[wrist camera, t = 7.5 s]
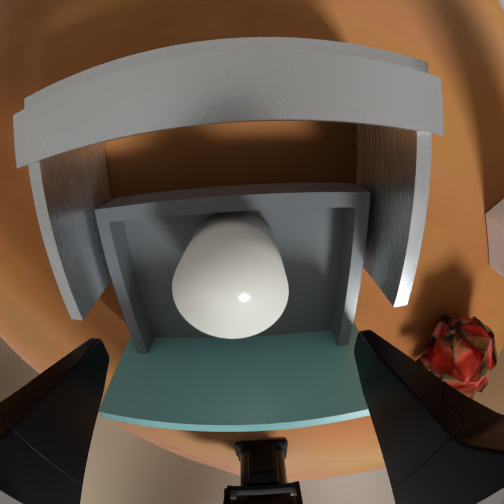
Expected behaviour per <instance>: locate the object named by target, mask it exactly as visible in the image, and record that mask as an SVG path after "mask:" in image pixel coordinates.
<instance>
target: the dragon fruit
mask: <svg viewBox="0 0 504 504" xmlns="http://www.w3.org/2000/svg"><path fill="white" fill-rule="evenodd" d="M444 316H445V318H446V321H445V322H444V321H441V322H438V324H437V326H436V327H435V330H433V331H432V334H431V336H430V337H431V340H432V341H433V337H434V339H435V338H436V343H435V346H429V347H427V348H426V349H425V351H424V354H422V356H421V357H419V358H418V359H417V360H416V362H417V363H419V364H420V365H422V366H423V367H424V368H426V369H430V370H431V371H430V372H432V373H433V374H435V375H436V376H437V377H439V378H440V379H442V381H445V382H446V383H448V384H449V385H450V386H452V387H453V388H455V389H456V390H458V391H459V392H461V393H463V394H464V395H466V396H468V397H469V398H471V399H472V398H473V396H474V395H475V393H476V391H477V392H482V391H483V390H484V389H485V388H486V387H487V386H488V380H487V374H488V373H489V372H491V370H492V369H493V368H494V367H495V366H496V363H497V351H496V347H495V339H494V334H493V332H492V330H491V329H490V328H489V327H488V326H486V325H484V324H483V323H482V322H481V321H480V320H479V319H477V318H476V317H472V318H473V319H471V318H462V317H458V319H456V317H455V316H452V315H449V314H446V315H444ZM478 320H479V321H478Z"/></svg>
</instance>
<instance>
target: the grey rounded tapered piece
mask: <svg viewBox="0 0 504 504" xmlns="http://www.w3.org/2000/svg"><path fill="white" fill-rule="evenodd" d="M172 293H173V298H174V302H175V304H176V306H177V309H178V310H179V312H180V313H181V315H182V316H183V317H184V318H185V320H187V321H188V322H189V323H190V324H191V325H192V326H194V327H195V328H196V329H198V330H200V331H202V332H204V333H206V334H209V335H212V336H215V337H219V338H227V339H237V338H245V337H249V336H253V335H256V334H258V333H260V332H262V331H264V330H266V329H267V328H269V327H270V326H271V325H273V324H274V323H275V322H276V321H277V320H278V318H279V317H280V316H281V314H282V313H283V311H284V309H285V307H286V304H287V301H288V295H289V287H288V281H287V277H286V273H285V270H284V266H283V262H282V259H281V255H280V251H279V248H278V244H277V241H276V238H275V235H274V233H273V232H272V230H271V229H270V227H269V226H268V225H267V224H266V223H265V222H264V221H263V220H262V219H260V218H259V217H257V216H255V215H253V214H251V213H249V212H245V211H235V212H219V213H215V214H213V215H211V216H209V217H208V218H206V219H205V220H204V221H203V222H202V223H201V224H200V225H199V226H198V227H197V228H196V230H195V232H194V234H193V236H192V238H191V240H190V242H189V244H188V246H187V248H186V250H185V252H184V254H183V256H182V258H181V260H180V262H179V264H178V266H177V269H176V271H175V273H174V277H173V282H172Z"/></svg>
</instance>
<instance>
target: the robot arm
mask: <svg viewBox="0 0 504 504" xmlns="http://www.w3.org/2000/svg"><path fill="white" fill-rule="evenodd" d="M354 356H355V361H356V365H357V369H358V374H359V378H360V383H361V388H362V392H363V395H364V398H365V401H366V404H367V407H368V410H369V413H370V416H371V419H372V422H373V425H374V428H375V431H376V435H377V438H378V441H379V444H380V448H381V451H382V454H383V458H384V461H385V465H386V468H387V472H388V476H389V479H390V483H391V486H392V488H393V489H392V491H393V495H394V499H395V503H396V504H504V415H502V414H499V413H497V412H495V411H493V410H491V409H489V408H488V407H485V406H484V405H482V404H480V403H478V402H477V401H474V400H473V399H471V398H469V397H468V396H466V395H464V394H463V393H461V392H459V391H458V390H456V389H455V388H453V387H452V386H450V385H449V384H448V383H446V382H445V381H442V379H440V378H439V377H437V376H436V375H435V374H433V373H432V372H430V371H429V370H427V369H426V368H424V367H423V366H422V365H420V364H419V363H417V362H416V361H414V360H413V359H412V358H410V357H409V356H407V355H406V354H404V353H403V352H401V351H400V350H399V349H397V348H396V347H394V346H393V345H391V344H390V343H389V342H387V341H386V340H384V339H383V338H381V337H380V336H378V335H377V334H376V333H374V332H373V331H371V330H364V331H360V332H359V333H358V335H357V339H356V343H355V347H354ZM108 365H109V355H108V352H107V350H106V348H105V346H104V344H103V342H102V341H101V340H100V339H95V338H91V339H89V340H88V341H86V342H85V343H83V344H82V345H80V346H79V347H78V348H76V349H75V350H73V351H72V352H70V353H69V354H68V355H66V356H65V357H63V358H62V359H61V360H59V361H58V362H56V363H55V364H54V365H52V366H51V367H49V368H48V369H47V370H45V371H44V372H42V373H41V374H40V375H38V376H37V377H36V378H34V379H33V380H31V381H30V382H29V383H27V384H26V385H25V386H23V387H22V388H21V389H19V390H18V391H16V392H15V393H13V394H12V395H11V396H9V397H8V398H6V399H5V400H3V401H1V402H0V504H80V500H81V492H82V485H83V479H84V473H85V468H86V462H87V457H88V453H89V448H90V443H91V439H92V434H93V430H94V426H95V422H96V418H97V414H98V411H99V407H100V403H101V400H102V396H103V391H104V386H105V380H106V375H107V370H108ZM287 445H288V441H287V440H276V441H261V442H237V443H236V450H237V454H238V458H239V461H241V486H227V488H226V489H224V502H223V504H303V502H302V496H301V490H300V485H299V481H297V482H293V483H287V478H286V469H285V458H286V453H287ZM291 494H293V495H294V496H291Z"/></svg>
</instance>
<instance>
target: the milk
mask: <svg viewBox="0 0 504 504" xmlns="http://www.w3.org/2000/svg"><path fill="white" fill-rule="evenodd" d="M485 217H486V226H487V236H488V249H489V265H490V266H491V267H492V268H493V269H495V270H496V271H497V272H498V273H500V274H501V275H502V276H503V277H504V198H503V199H502V200H501V201H500V202H499V203H498V204H496V205H495V206H494V207H493V208H492V209H490V210H489V211H488V212H487V213H486V214H485Z"/></svg>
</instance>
